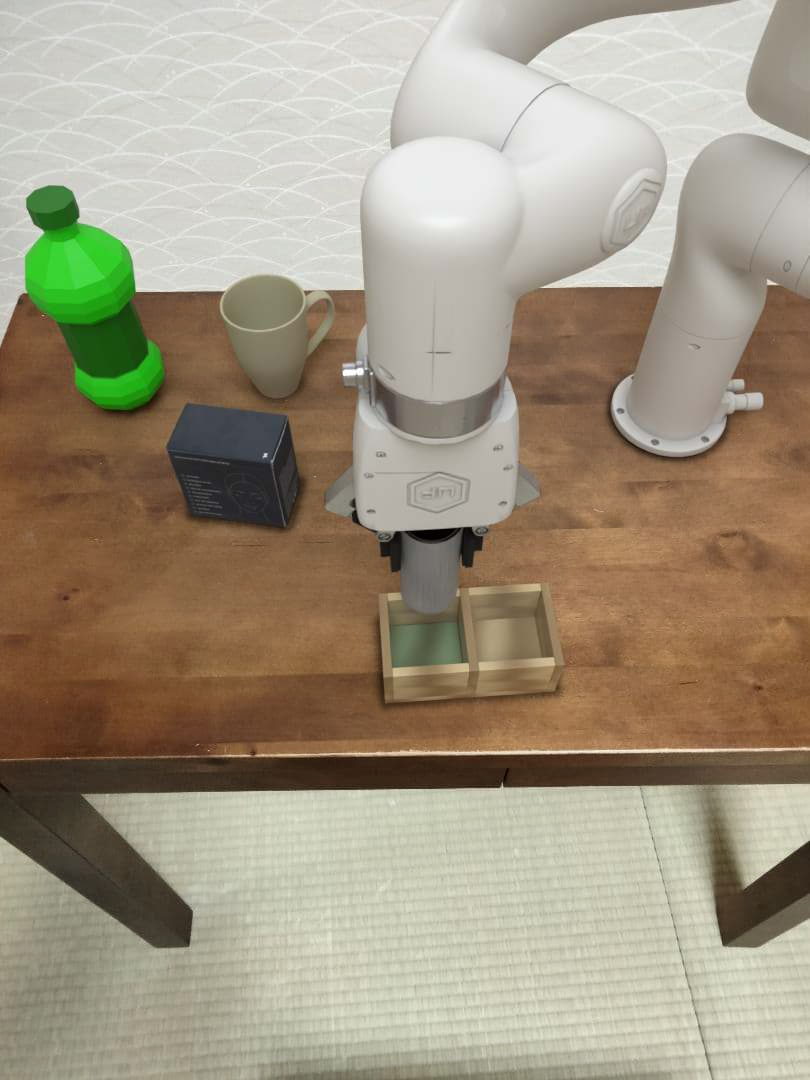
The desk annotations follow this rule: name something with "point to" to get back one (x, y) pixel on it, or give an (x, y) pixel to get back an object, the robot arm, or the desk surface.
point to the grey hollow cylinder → (430, 568)
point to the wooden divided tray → (471, 645)
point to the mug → (272, 329)
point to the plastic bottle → (91, 302)
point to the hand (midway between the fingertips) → (430, 552)
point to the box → (235, 464)
